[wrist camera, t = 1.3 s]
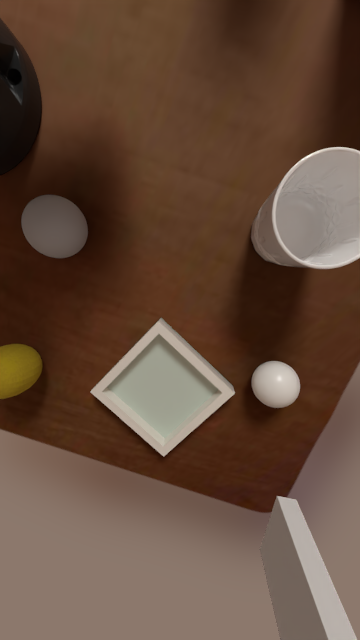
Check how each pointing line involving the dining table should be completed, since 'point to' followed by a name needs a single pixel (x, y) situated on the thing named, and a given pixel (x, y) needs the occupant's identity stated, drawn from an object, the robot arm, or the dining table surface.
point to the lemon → (18, 369)
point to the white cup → (313, 213)
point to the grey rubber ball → (54, 226)
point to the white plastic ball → (275, 384)
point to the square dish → (163, 388)
